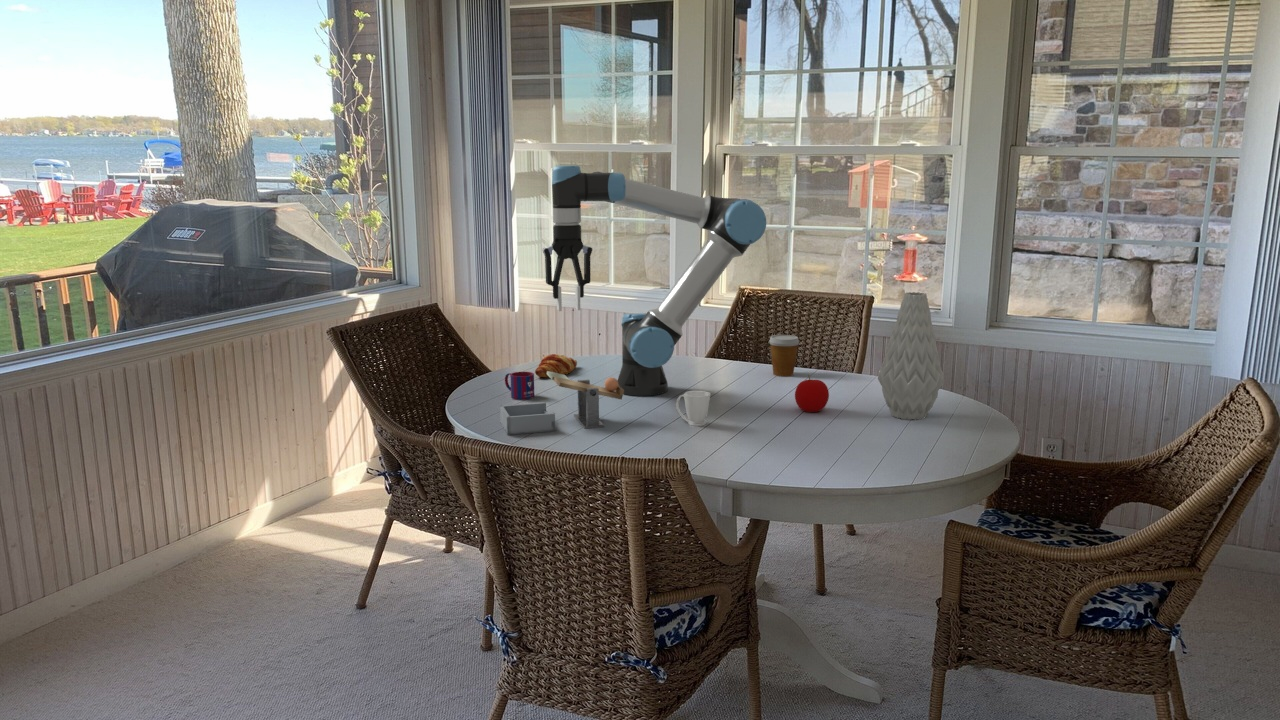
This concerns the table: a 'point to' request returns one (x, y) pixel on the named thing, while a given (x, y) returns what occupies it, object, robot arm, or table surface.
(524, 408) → the tray
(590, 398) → the fulcrum
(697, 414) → the cup
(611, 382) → the ball
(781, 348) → the disposable coffee cup
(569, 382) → the lever
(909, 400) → the vase
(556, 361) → the croissant
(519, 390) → the cup
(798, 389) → the fruit
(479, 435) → the table surface
